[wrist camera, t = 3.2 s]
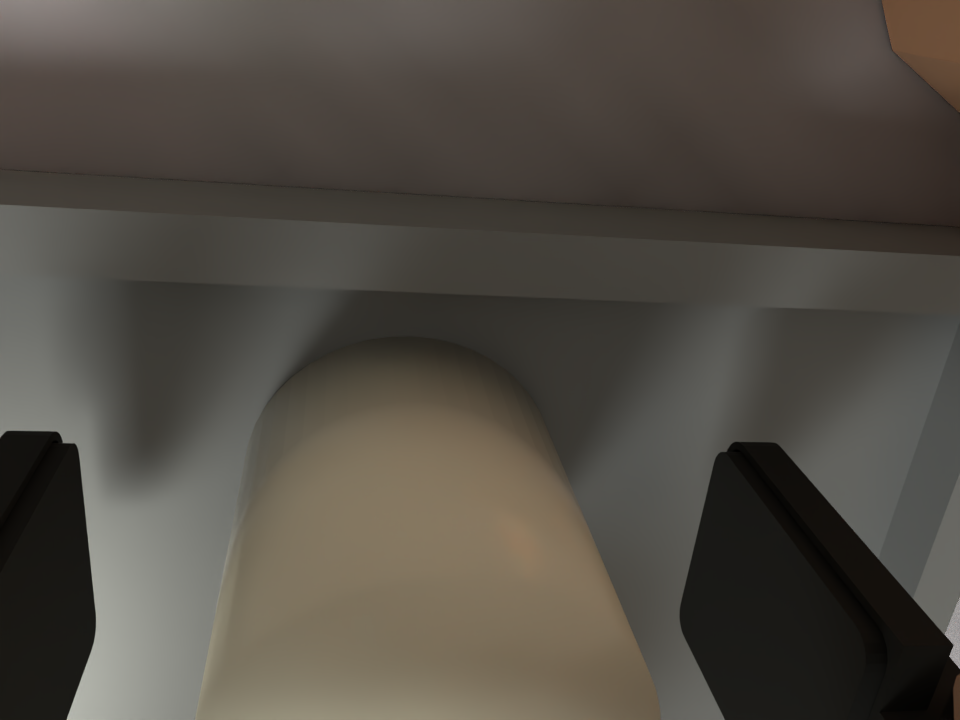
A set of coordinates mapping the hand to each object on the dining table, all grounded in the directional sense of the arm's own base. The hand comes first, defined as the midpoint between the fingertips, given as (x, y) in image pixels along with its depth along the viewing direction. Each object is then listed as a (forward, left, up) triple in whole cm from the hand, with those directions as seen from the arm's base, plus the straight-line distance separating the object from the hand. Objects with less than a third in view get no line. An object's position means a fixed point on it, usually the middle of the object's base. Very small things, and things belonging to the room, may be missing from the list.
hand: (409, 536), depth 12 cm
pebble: (0, 0, -1) cm, 1 cm away
